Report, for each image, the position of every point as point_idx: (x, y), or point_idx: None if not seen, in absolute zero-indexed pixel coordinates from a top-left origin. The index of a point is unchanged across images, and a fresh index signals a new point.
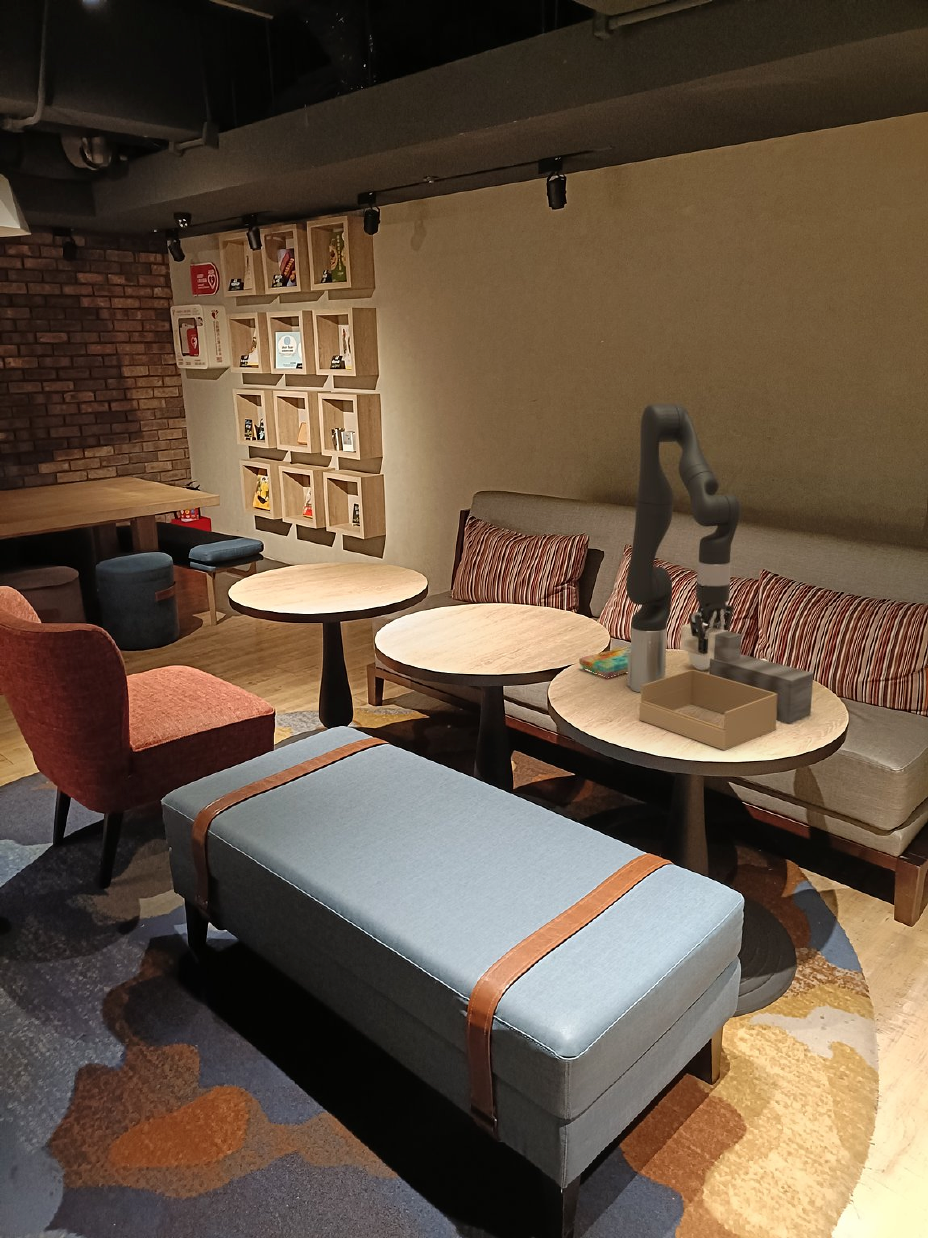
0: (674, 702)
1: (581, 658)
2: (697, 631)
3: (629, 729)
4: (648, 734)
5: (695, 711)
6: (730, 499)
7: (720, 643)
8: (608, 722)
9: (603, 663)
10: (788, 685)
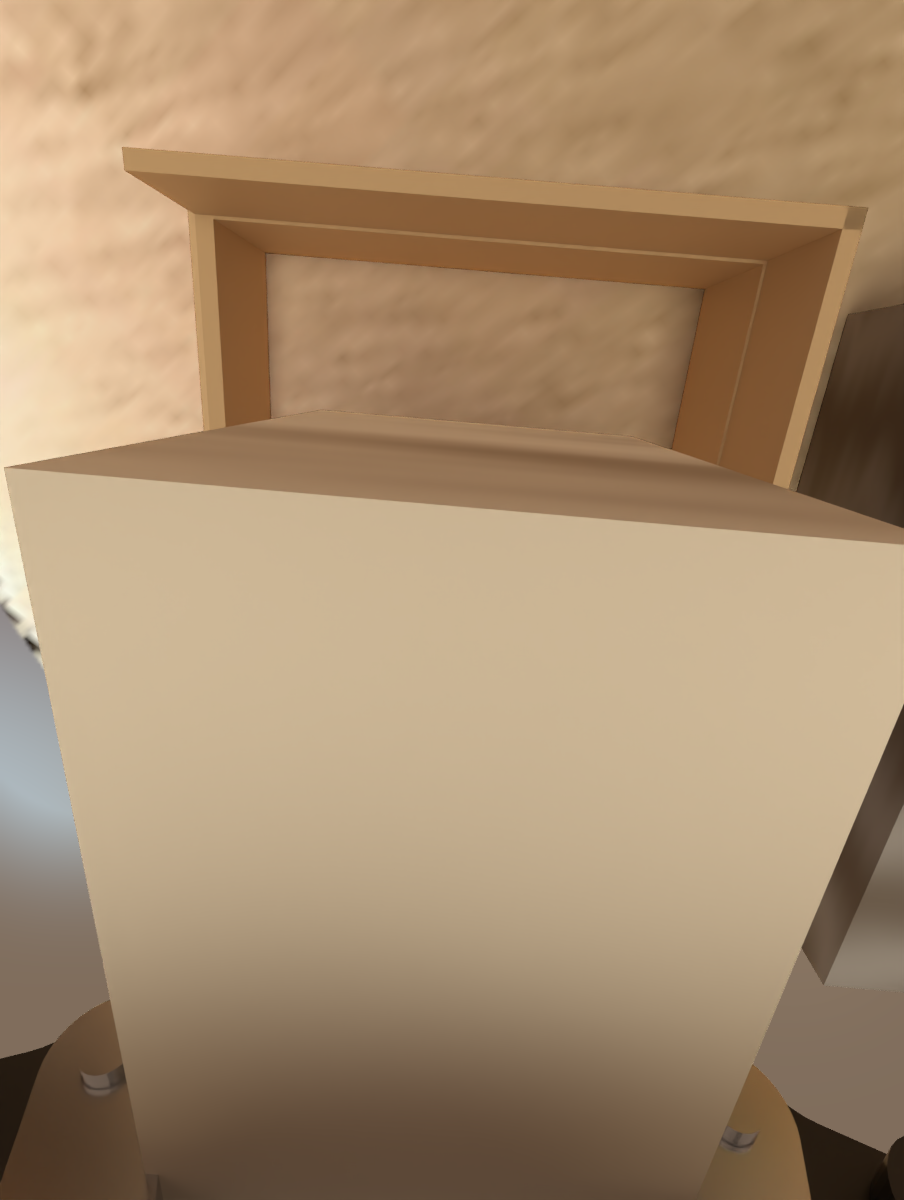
0: (544, 266)
1: None
2: (10, 1163)
3: (98, 289)
4: (136, 417)
5: (596, 392)
6: None
7: None
8: (62, 95)
9: None
10: (809, 938)
